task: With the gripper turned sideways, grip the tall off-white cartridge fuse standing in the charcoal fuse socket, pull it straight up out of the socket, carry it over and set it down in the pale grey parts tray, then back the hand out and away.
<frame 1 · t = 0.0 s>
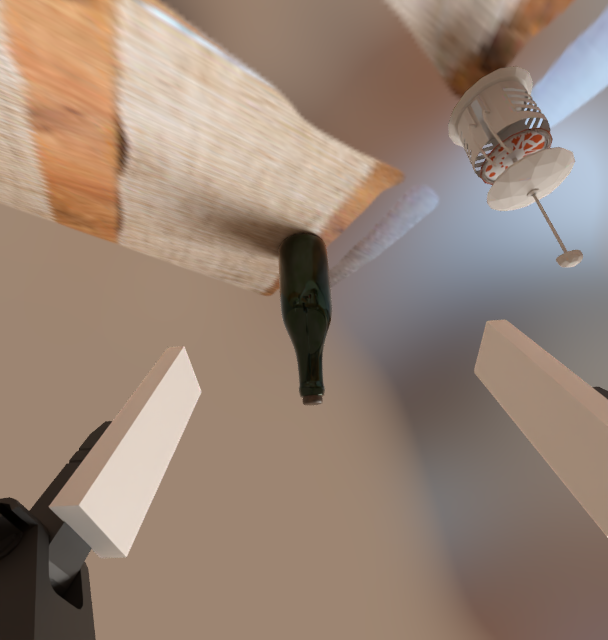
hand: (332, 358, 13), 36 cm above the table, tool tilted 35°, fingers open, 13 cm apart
dark green wine bottle: (302, 247, 61), on the table
french press: (483, 107, 37), on the table
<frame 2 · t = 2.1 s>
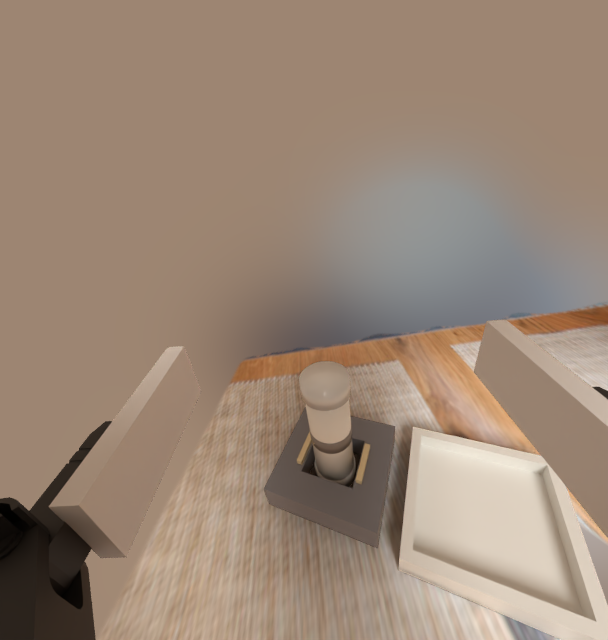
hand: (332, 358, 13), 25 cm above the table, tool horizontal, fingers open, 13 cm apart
fuse socket: (335, 470, 34), on the table
parts tray: (480, 517, 28), on the table
fuse: (335, 470, 34), resting in fuse socket
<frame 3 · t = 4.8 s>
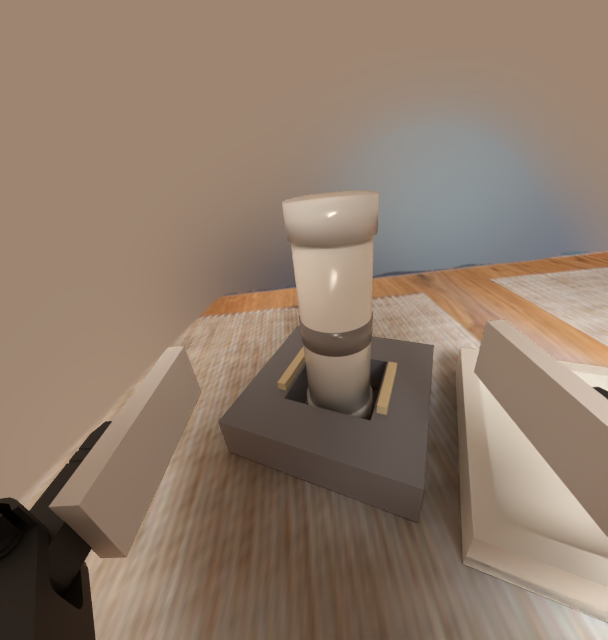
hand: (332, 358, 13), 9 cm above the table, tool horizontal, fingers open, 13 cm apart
fuse socket: (340, 408, 21), on the table
parts tray: (600, 474, 15), on the table
fuse: (340, 409, 21), resting in fuse socket
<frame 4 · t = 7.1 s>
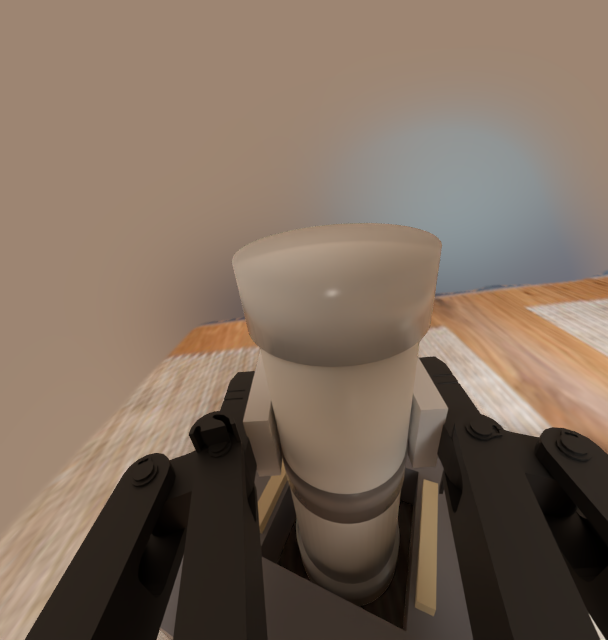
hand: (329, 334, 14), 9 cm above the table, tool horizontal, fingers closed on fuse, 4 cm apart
fuse socket: (347, 540, 14), on the table
fuse: (347, 540, 14), resting in fuse socket, touching gripper
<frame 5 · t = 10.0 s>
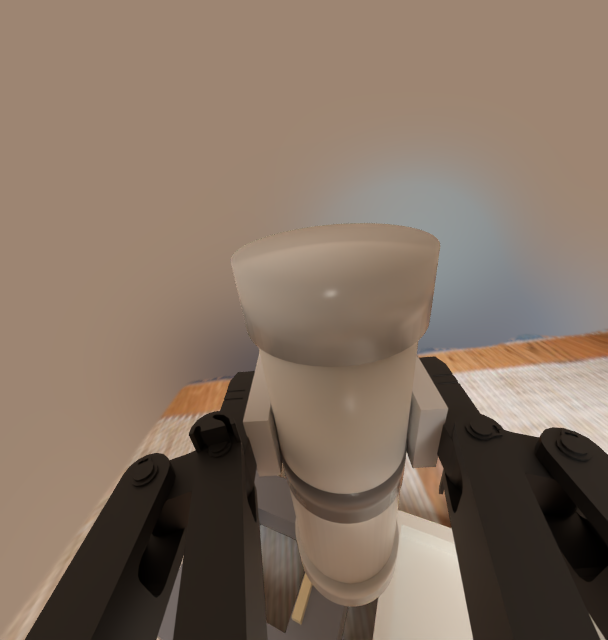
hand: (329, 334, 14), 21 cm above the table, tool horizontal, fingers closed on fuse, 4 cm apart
fuse socket: (273, 576, 22), on the table
fuse: (346, 540, 14), point 12 cm above the table, touching gripper
when the fingers open (11 cm above the table, at t = 12.7 s): fuse drops 2 cm, resting on parts tray.
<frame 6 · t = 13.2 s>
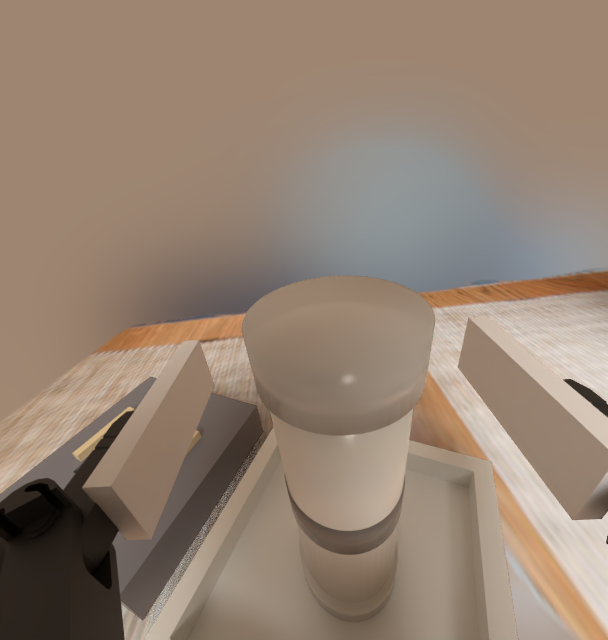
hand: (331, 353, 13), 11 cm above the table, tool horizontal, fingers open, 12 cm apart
fuse socket: (155, 473, 21), on the table
parts tray: (348, 562, 15), on the table
fuse: (348, 557, 15), point 1 cm above the table, touching parts tray
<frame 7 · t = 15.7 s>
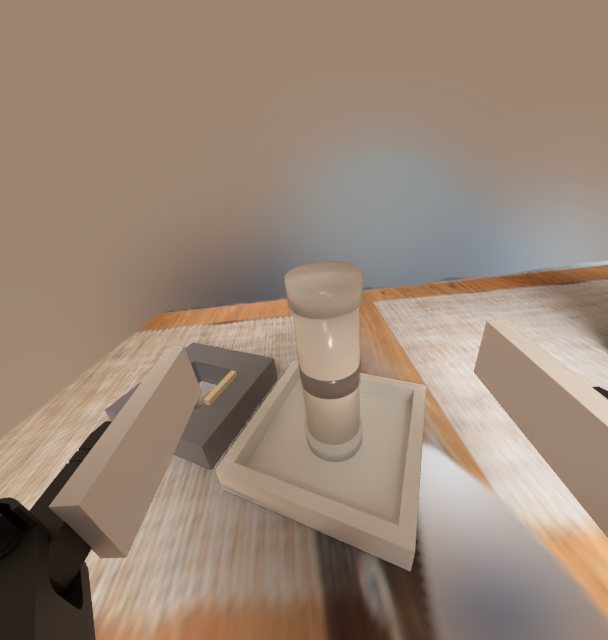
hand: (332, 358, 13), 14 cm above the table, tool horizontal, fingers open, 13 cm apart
fuse socket: (203, 402, 31), on the table
parts tray: (334, 442, 25), on the table
fuse: (334, 436, 24), point 1 cm above the table, touching parts tray
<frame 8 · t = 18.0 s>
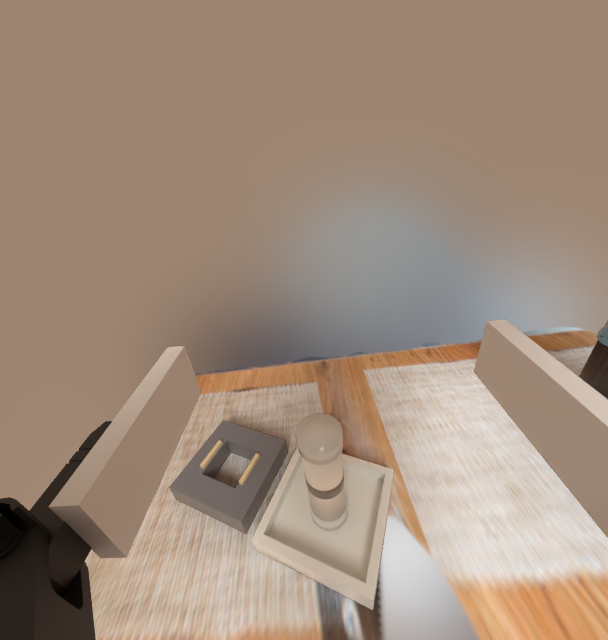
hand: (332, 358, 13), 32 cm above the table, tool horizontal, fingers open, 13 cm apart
fuse socket: (235, 474, 42), on the table
parts tray: (329, 512, 36), on the table
fuse: (329, 509, 36), point 1 cm above the table, touching parts tray
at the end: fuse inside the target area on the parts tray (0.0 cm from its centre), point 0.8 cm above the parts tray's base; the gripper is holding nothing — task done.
